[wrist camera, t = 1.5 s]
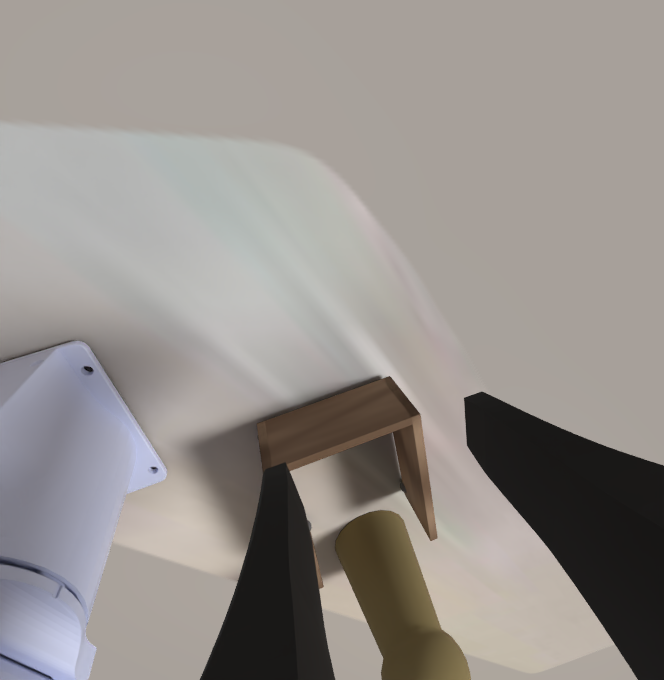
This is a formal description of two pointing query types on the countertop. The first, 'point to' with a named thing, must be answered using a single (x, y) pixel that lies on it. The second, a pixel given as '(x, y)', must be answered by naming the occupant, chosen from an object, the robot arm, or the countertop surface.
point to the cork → (397, 600)
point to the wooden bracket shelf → (354, 439)
